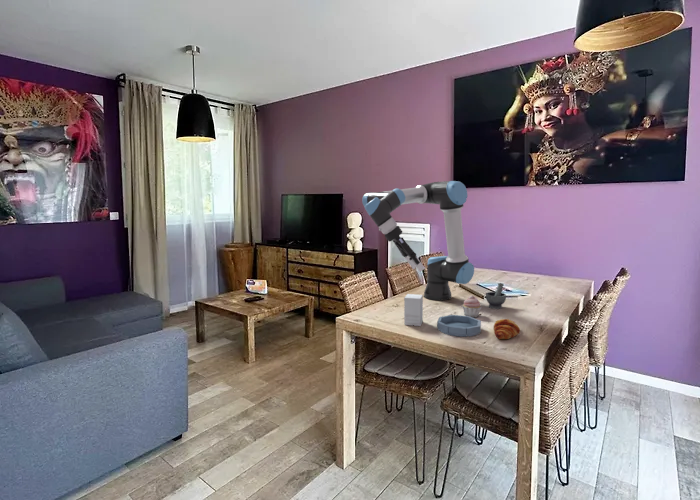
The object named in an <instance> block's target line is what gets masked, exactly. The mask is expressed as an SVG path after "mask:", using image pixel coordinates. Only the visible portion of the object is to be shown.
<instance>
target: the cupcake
mask: <svg viewBox="0 0 700 500" xmlns="http://www.w3.org/2000/svg"><path fill="white" fill-rule="evenodd" d="M463 301H464V302H463V304H461V307H462V309H463V316H470V317H472V318H478V317H479V315H480V311H481V310H482V308H483V307H482V305H481V303H480V301H479V299H478V298H477V297H475V296H474V295H470V296H468V297H467V298H466V299H465V300H463Z"/></svg>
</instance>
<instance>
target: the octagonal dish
mask: <svg viewBox="0 0 700 500" xmlns="http://www.w3.org/2000/svg"><path fill="white" fill-rule="evenodd" d="M436 325H437V326H436V327H437V330H438V331H439V332H441V333H442V334H444V335H448V336H451V337H452V336H454V337H463V338H464V337H465V338H467V336H469V337H476V336H479V335H480V334H481V333H482V320H480V319H477V318H476V317H470V316H465V315H460V314H459V315H458V314H449V315H444V316H443V315H442V316H439V317H438V319H437V323H436Z"/></svg>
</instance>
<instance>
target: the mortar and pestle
mask: <svg viewBox="0 0 700 500" xmlns="http://www.w3.org/2000/svg"><path fill="white" fill-rule="evenodd" d="M503 287H504V283H501V282H499V283H497V287H496V290H495V291H488V292H486V293H485V299H486V301H487V303H488V307H489V308H490V309H493V310H501V309H503V305H504V304H505V302H506V299H507V294H506V293H503Z"/></svg>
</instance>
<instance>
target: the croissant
mask: <svg viewBox="0 0 700 500" xmlns="http://www.w3.org/2000/svg"><path fill="white" fill-rule="evenodd" d="M520 332H521V328H520V327H519V325H518V324H517V323H516V322H515V321H513V320H511V319H508V318H502V319H501V318H500V319H499V320H495V322H494V324H493V333H494V336H495V338H497V339H498V340H509V339H513V338H514V337H516V336H517V335H518V334H520Z"/></svg>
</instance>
